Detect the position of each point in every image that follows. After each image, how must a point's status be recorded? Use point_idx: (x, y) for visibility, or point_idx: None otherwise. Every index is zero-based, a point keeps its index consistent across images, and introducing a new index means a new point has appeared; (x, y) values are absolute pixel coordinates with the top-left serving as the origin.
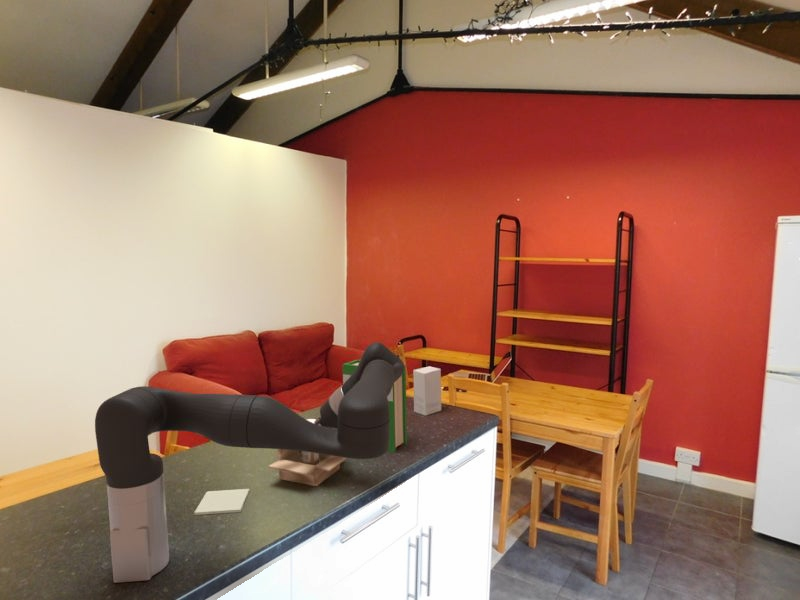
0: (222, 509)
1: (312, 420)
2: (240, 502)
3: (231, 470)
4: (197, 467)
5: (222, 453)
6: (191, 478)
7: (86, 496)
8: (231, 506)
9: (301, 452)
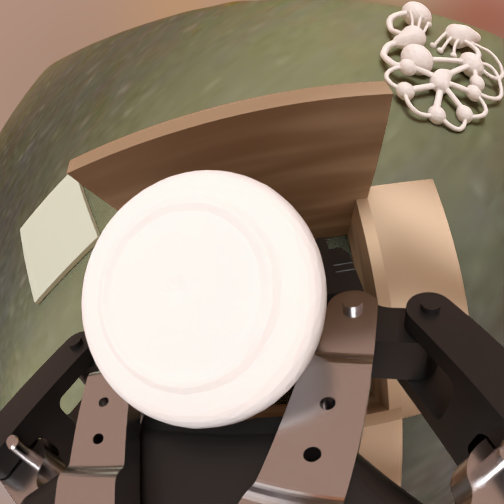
0: (29, 267)
1: (234, 309)
2: (50, 277)
3: (184, 103)
4: (173, 56)
5: (253, 31)
6: (127, 90)
7: (66, 73)
8: (37, 273)
9: (322, 215)
